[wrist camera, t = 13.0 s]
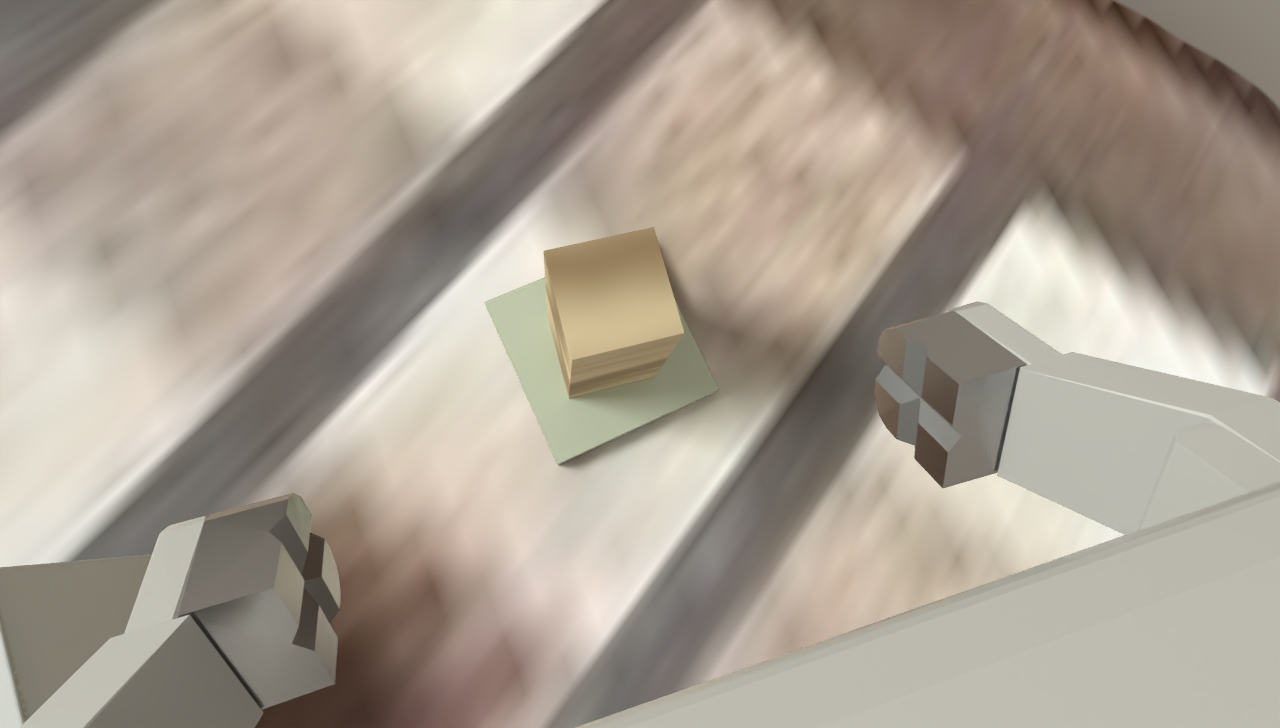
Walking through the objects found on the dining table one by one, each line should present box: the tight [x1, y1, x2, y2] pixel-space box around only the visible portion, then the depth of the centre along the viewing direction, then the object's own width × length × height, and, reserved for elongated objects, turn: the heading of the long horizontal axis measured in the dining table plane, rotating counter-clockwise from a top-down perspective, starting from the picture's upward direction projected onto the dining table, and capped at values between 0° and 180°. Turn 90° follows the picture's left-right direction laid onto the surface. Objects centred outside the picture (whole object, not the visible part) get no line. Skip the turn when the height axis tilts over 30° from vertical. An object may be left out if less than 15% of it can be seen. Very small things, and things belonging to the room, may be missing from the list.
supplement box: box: [0, 554, 152, 728], centre depth 31 cm, size 7×7×13 cm
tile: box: [485, 277, 719, 465], centre depth 42 cm, size 10×10×1 cm
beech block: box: [544, 227, 684, 398], centre depth 37 cm, size 5×5×10 cm
